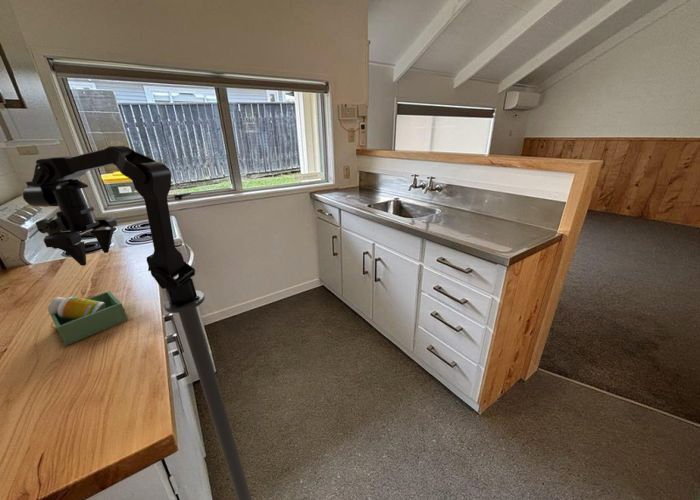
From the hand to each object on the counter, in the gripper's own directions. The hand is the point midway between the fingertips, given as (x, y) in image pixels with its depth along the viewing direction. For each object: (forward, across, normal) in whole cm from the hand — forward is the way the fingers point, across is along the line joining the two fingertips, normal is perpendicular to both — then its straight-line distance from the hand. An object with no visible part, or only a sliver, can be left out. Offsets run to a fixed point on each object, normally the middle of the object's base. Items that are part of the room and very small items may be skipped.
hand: (95, 258), depth 82 cm
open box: (+13, +14, +4) cm, 20 cm away
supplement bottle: (+10, +14, +7) cm, 18 cm away
